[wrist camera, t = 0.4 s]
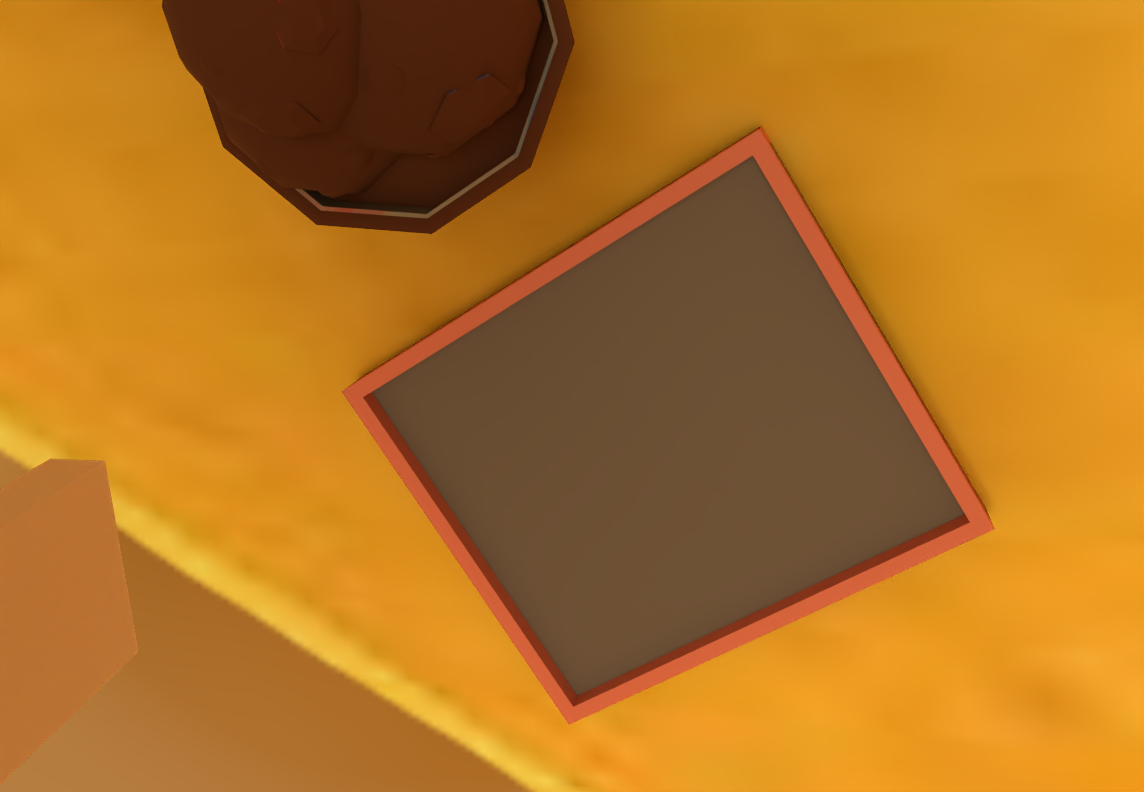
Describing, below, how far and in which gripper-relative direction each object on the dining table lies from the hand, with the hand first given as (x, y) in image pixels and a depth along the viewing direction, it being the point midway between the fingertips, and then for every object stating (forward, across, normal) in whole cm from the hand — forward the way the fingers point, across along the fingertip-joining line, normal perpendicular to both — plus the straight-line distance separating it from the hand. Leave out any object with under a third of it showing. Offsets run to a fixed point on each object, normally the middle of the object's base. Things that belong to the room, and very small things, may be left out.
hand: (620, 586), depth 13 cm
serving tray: (+27, -2, -8) cm, 29 cm away
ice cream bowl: (+28, -9, +6) cm, 30 cm away
